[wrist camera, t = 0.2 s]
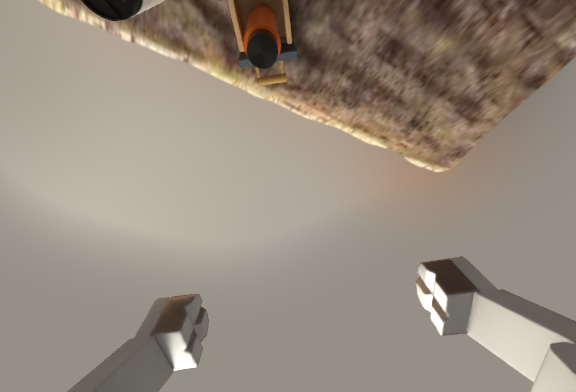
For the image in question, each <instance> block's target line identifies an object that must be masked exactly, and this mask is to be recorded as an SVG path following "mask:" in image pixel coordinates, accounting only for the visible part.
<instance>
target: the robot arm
mask: <svg viewBox="0 0 576 392" xmlns="http://www.w3.org/2000/svg"><path fill="white" fill-rule="evenodd" d="M417 272H418V274H419V276H420V277H419V278H418V279H417V281H416V292H417V296H418V298H419V301H420V302H421V304H422V306H423V308H425V309H427V310H428V311H430V312H431V316H430V319H431V320H432V322H433V324H434V325H435V327H436V328H437V330H438V332H439V333H440V335H441V336H444V335H454V334H465V333H468V335H469V336H470V337H472V338H473V339H474V340H476V341H477V342H479V343H480V344H481V345H483V346H484V347H486V348H487V349H488V350H490V351H491V352H492V353H494V354H495V355H497V356H498V357H499V358H501V359H502V360H503V361H505V362H506V363H508V364H509V365H510V366H512V367H513V368H515V369H516V370H517V371H519V372H520V373H521V374H523V375H524V376H526V377H527V378H528V379H530V380H531V381H532V382H534V384H533V386H532V388H531V391H530V392H576V321H574V320H571V319H569V318H567V317H564V316H562V315H560V314H558V313H556V312H553V311H551V310H549V309H546V308H544V307H542V306H540V305H537V304H535V303H533V302H530V301H528V300H526V299H524V298H521V297H519V296H517V295H515V294H512V293H510V292H508V291H505V290H498V289H497V288H496V287H495V286H493V284H491V283H490V281H489V280H488V279H486V278H485V277H484V276H483V275H482V274H481V273H480V272H479V271H478V270H477V269H476V268H475V267H474V266H473V265H472V264H471V263H470V262H469V261H468V260H467V259H466V258H464V257H455V258H449V259H443V260H436V261H430V262H422V263H419V264H418V266H417ZM201 303H202V299H201V297H200V295H199V294H191V295H183V296H174V297H168V298H159V299H157V300H156V301H155V302H154V303H153V305H152V307H151V309H150V311H149V312H148V314H147V316H146V318H145V320H144V322H143V323H142V325H141V327H140V328H139V330H138V332H137V334H136V336H135V337H134V338H133V339H129V340H128V341H127V342H126V343H124V344H123V345H122V346H121V347H120V348H118V349H117V350H116V351H115V352H114V353H112V354H111V355H110V356H109V357H108V358H107V359H105V360H104V361H103V362H102V363H101V364H100V365H98V366H97V367H96V368H95V369H94V370H92V371H91V372H90V373H89V374H88V375H86V376H85V377H84V378H83V379H82V380H80V381H79V382H78V383H77V384H76V385H74V386H73V387H72V388H71V389H70V390H68V392H158V391H159V390H160V389H161V388H162V386H163V385H164V384H165V382H166V381H167V380H168V379H169V377H170V376H171V375H172V373H173V372H174V371H173V370H180V369H186V368H192V367H197V366H198V363H199V360H200V356H201V353H202V350H203V347H202V345H201V341H202V340H203V339H204V338H205V337H206V335H207V331H208V324H209V319H208V314H207V311H206V309H204V308H203V307H201Z"/></svg>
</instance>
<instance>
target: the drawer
mask: <svg viewBox="0 0 576 392" xmlns="http://www.w3.org/2000/svg"><path fill="white" fill-rule="evenodd" d="M228 3H229V8H230V12H231V16H232V20H233V24H234V29H235V33H236V37H237V41H238V46H239V50H240V56H239V60H238V61H239V65H240V68H242V67H248V66H254V65H252V64H251V62H250V61H249V59H248V57H247V55H246V53H245V50H244V37H245V32H246V27H247V23H248V18H249V14H250V11H251V9H252V8H253V7H254V6H255V5H257V4H260V3H263V4H267V5H268V6H270V7H271V8H272V9H273V11H274V13H275V16H276V21H277V26H278V31H279V36H280V37H284V36H286V40H287V42H285V43H281V50H280V54H279V56H278V58H277V60H276V62H278V61H280V68H281V74H278V75H272V76H266V77H261V75H260V70H259V68H257V67H255V68H256V72H257V77H258V78H257V83H258V86H261V85H267V84H273V83H279V82H286V81H287V79H286V73H284V65H283V61H284V60H290V59H296V58H297V50H296V48H295V45H294V42H293V41H292V36H291V26H290V17H289V7H288V0H228Z"/></svg>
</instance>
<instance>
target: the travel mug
mask: <svg viewBox="0 0 576 392" xmlns="http://www.w3.org/2000/svg"><path fill="white" fill-rule="evenodd" d="M163 1H165V0H82V2H83V3H84V4H85V5H86V6H87V7H88V8H89V9H90V10H92V11H93V12H94V13H96V14H97V15H99V16H101V17H102V18H105V19H108V20H111V21H118V20H126V19H128V18H130V17H133V16H135V15H137V14H139V13H141V12H143V11H145V10H147V9H149V8H151V7H153V6H155V5H157V4H159V3H161V2H163Z"/></svg>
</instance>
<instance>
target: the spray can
mask: <svg viewBox="0 0 576 392" xmlns="http://www.w3.org/2000/svg"><path fill="white" fill-rule="evenodd" d="M244 50H245V53H246V55H247V57H248V59H249V61H250V62H251V64H252V65H254V66H255V67H257V68H260V69H267V68H269V67H271V66H272V65H273V64H274V63H275V62H276V60H277V58H278V56H279V54H280V50H281V41H280V36H279V31H278V26H277V21H276V16H275V13H274V11H273V9H272V8H271V7H270V6H268V5H267V4H263V3H260V4H257V5H255V6H254V7H253V8H252V9H251V11H250V14H249V18H248V23H247V27H246V32H245V37H244Z"/></svg>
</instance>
